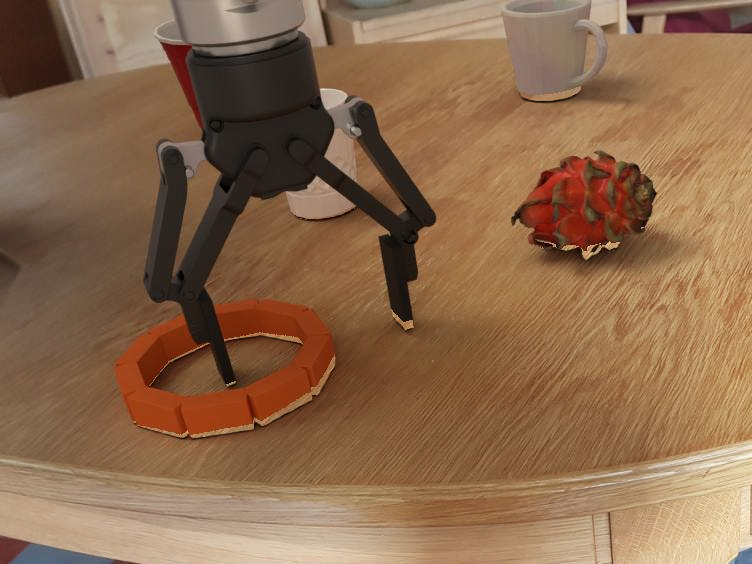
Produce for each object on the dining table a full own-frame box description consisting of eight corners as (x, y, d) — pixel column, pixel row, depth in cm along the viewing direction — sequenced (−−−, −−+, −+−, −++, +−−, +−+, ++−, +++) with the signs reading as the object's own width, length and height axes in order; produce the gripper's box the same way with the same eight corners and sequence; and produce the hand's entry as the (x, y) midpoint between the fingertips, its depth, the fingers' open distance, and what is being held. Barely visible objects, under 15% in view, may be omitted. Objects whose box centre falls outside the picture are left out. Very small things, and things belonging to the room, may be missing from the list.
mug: (553, 75, 121) (549, -11, 115) (638, 95, 111) (639, 1, 105) (490, 96, 116) (482, 7, 110) (573, 119, 106) (570, 22, 100)
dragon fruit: (668, 262, 79) (528, 296, 80) (645, 175, 82) (509, 210, 83) (671, 207, 71) (515, 247, 72) (645, 113, 73) (495, 153, 75)
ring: (88, 389, 68) (77, 360, 67) (264, 308, 76) (256, 281, 74) (189, 467, 59) (178, 435, 58) (376, 366, 67) (371, 336, 66)
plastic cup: (210, 149, 110) (180, 39, 103) (166, 133, 117) (136, 28, 109) (288, 123, 115) (265, 16, 108) (242, 109, 122) (217, 7, 115)
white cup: (275, 224, 90) (249, 117, 84) (298, 193, 96) (276, 90, 90) (354, 221, 88) (334, 112, 82) (374, 189, 95) (356, 85, 88)
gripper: (34, 97, 50) (157, 427, 63) (460, 8, 57) (492, 320, 70) (24, 70, 56) (139, 378, 69) (413, -9, 63) (451, 283, 76)
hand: (317, 349), depth 69 cm, fingers open, 13 cm apart
